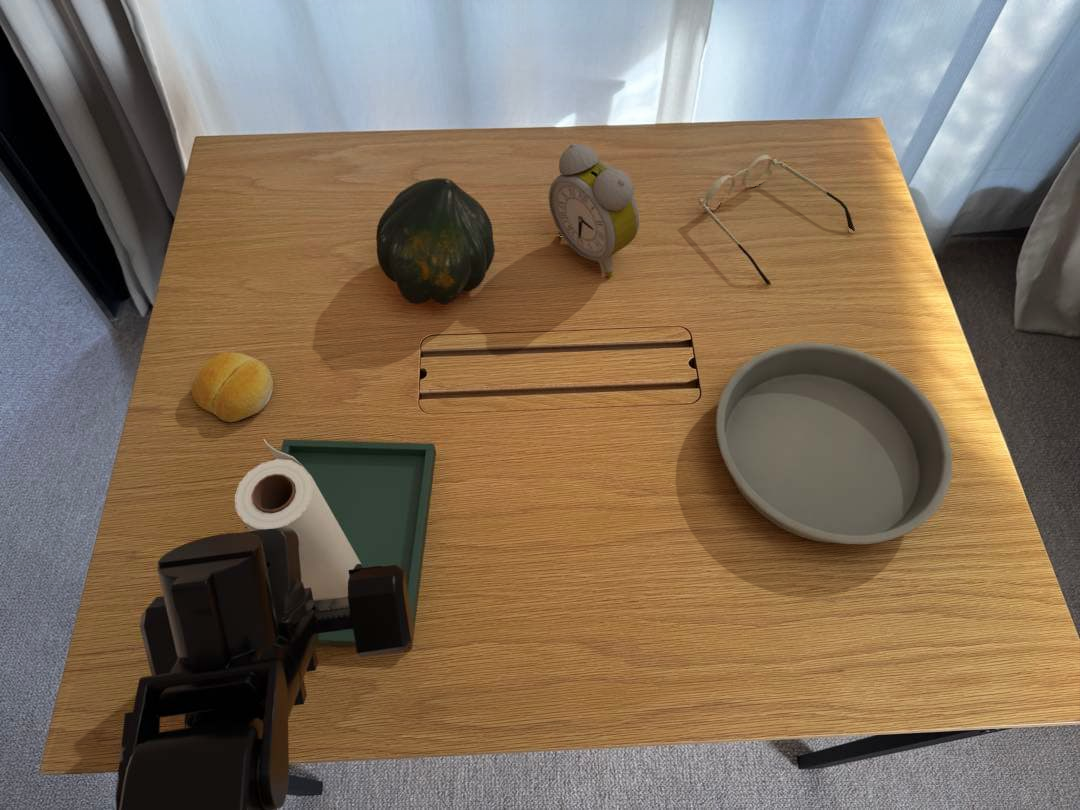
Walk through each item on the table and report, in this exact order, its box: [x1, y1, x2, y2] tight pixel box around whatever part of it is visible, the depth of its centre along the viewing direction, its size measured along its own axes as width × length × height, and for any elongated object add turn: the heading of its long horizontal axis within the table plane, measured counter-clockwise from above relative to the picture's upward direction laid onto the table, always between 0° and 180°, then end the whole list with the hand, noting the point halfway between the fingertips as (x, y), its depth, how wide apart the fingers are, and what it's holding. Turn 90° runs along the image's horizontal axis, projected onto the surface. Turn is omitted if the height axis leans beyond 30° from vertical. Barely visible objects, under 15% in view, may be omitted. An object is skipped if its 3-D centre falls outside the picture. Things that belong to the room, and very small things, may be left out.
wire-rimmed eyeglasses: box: [697, 154, 856, 286], centre depth 102 cm, size 17×15×5 cm
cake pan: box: [715, 342, 953, 545], centre depth 83 cm, size 25×25×4 cm
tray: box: [280, 439, 437, 650], centre depth 79 cm, size 22×17×2 cm
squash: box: [375, 177, 496, 306], centre depth 94 cm, size 14×15×15 cm
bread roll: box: [191, 351, 274, 423], centre depth 88 cm, size 8×9×4 cm
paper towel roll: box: [234, 438, 362, 610], centre depth 68 cm, size 7×6×21 cm
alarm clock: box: [548, 143, 640, 278], centre depth 95 cm, size 12×7×15 cm, turn 41°
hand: (304, 576), depth 65 cm, fingers open, 9 cm apart
